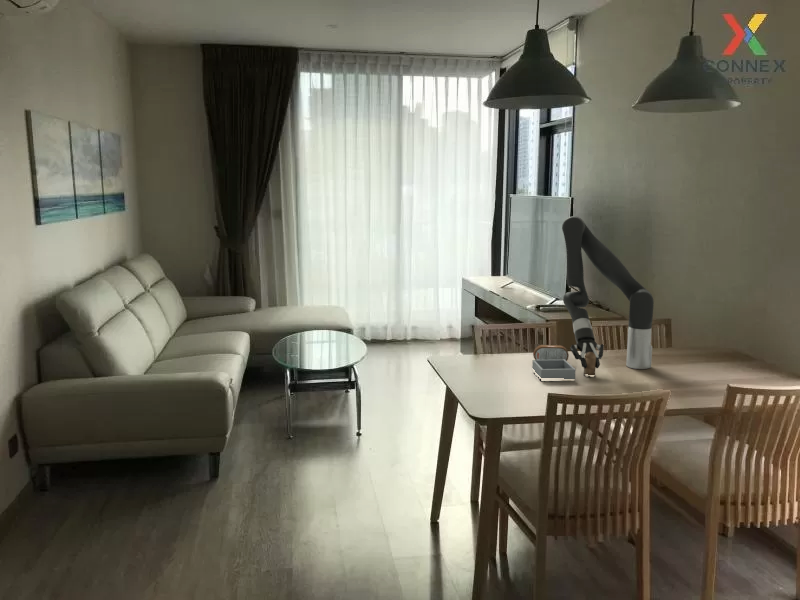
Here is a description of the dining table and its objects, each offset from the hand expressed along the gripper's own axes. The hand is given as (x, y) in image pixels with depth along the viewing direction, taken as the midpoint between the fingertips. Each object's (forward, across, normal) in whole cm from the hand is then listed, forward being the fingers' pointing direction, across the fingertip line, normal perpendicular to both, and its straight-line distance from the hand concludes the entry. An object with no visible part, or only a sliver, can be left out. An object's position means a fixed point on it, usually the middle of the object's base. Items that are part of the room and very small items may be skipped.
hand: (591, 367), depth 256 cm
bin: (+2, -15, +4) cm, 16 cm away
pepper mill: (+2, 0, +4) cm, 5 cm away
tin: (-11, -11, +18) cm, 24 cm away
